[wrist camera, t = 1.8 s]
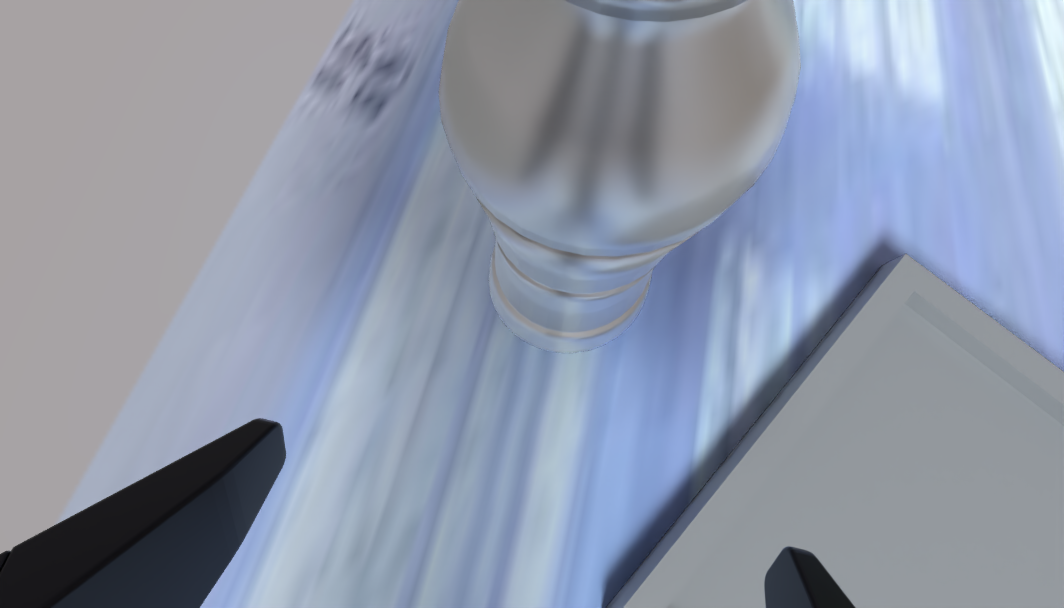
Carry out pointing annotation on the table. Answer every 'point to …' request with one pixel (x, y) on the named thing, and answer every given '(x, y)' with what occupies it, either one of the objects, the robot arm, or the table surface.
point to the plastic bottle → (608, 142)
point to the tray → (888, 468)
